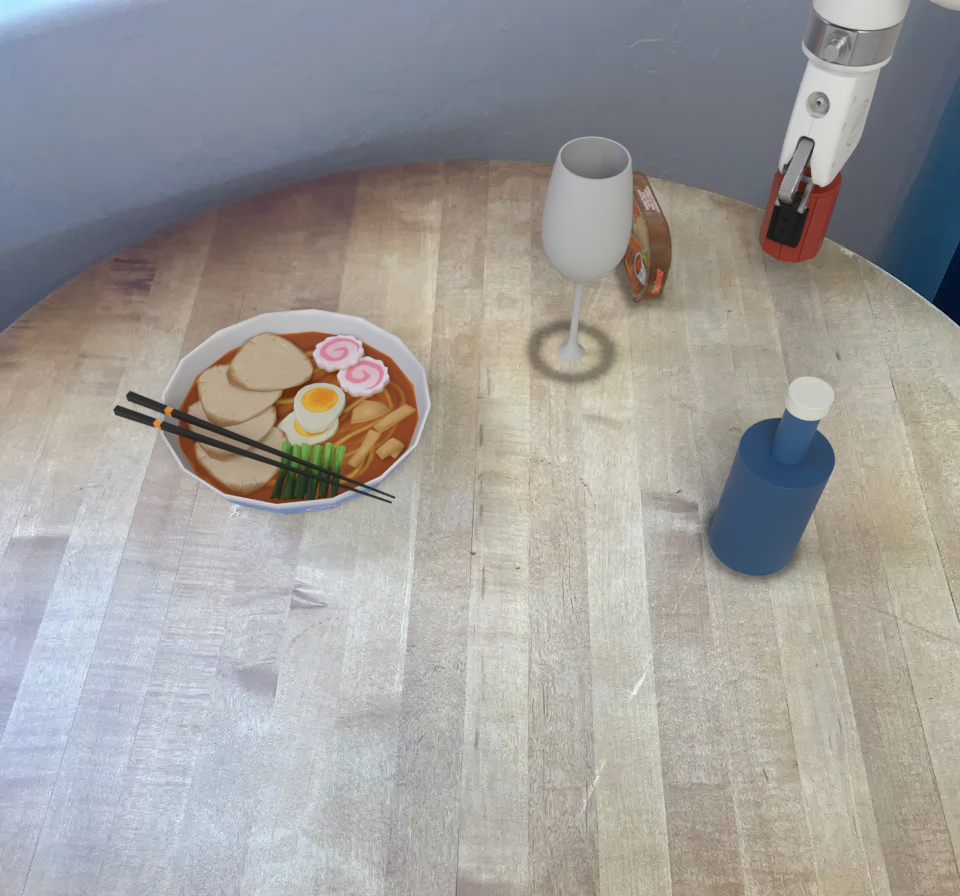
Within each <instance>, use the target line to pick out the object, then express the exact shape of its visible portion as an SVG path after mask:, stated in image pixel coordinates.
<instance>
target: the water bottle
mask: <svg viewBox="0 0 960 896" xmlns="http://www.w3.org/2000/svg"><path fill="white" fill-rule="evenodd" d="M834 400H835V391H834V389H833V387H832V386H831V384H829V383H828V382H826V381H825V380H824V379H821V378H819V377H816V376H811V375H810V376H809V375H808V376H806V375H805V376H800V377H797V378H795V379H793V380H792V381H791V382H790V384H789V386H788V389H787V391H786V394H785V396H784V406H785V409H784V411H783V413H782V416H781V417H772V418H766V419H762V420H760V421H757V422H756V423H754V424H752V425H750V426H749V427H748V428H747V429H746V430H745V431H744V433H743V434H742V436H741V437H740V440H739V443H738V446H737V449H736V451H735V455H734V458H733V461H732V464H731V466H730V470H729V473H728V475H727V478H726V480H725V484H724V487H723V490H722V493H721V496H720V499H719V502H718V505H717V508H716V511H715V514H714V516H713V519H712V522H711V525H710V528H709V533H708V541H709V546H710V548H711V550H712V553H713V554H714V555H715V557H716V558H717V559H718V560H719V561H720V562H721V563H722V564H723V565H725V566H726V567H727V568H729V569H731V570H733V571H735V572H737V573H740V574H743V575H748V576H755V577H756V576H757V577H758V576H759V577H760V576H768V575H771V574H774V573H777V572H779V571H781V570H782V569H784V568H785V567H786V566H787V565H788V564H789V563H790V561H791V560H792V557H793V556H794V553H795V551H796V550H797V547H798V545H799V543H800V541H801V539H802V536H803V534H804V532H805V530H806V528H807V526H808V524H809V522H810V520H811V517H812V516H813V514H814V511H815V509H816V507H817V505H818V502H819V500H820V499H821V497H822V495H823V492H824V490H825V488H826V486H827V484H828V482H829V480H830V478H831V475H832V473H833V471H834V468H835V465H836V456H835V455H836V454H835V451H834V449H833V446H832V444H831V442H830V441H829V440H828V438H827V437H826V436H825V435H824V434H823V433H822V432H821V431H819V429H818V427H819V424H820V422H821V420H822V419H823V418H825V417H826V416H827V415H828V414H829V412H830V410H831V408H832V406H833V403H834Z"/></svg>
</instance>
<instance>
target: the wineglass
mask: <svg viewBox="0 0 960 896" xmlns="http://www.w3.org/2000/svg"><path fill="white" fill-rule="evenodd" d="M555 158H556V159H555V162H554V165H553V168H552V172H551V175H550V179H549V183H548V188H547V192H546V196H545V201H544V206H543V211H542V218H541V231H540V232H541V233H540V235H541V245H542V249H543V252H544V255H545V257H546V260H547V261H548V262H549V264H550V265H551V266H552V267H553V269H554V270H555V271H556V272H557V273H558V274H559V275H560V276H562V277H563V278H565V279H567V280H568V281H570V282H572V283H573V289H574V290H573V291H574V293H573V303H572V309H571V311H572V312H571V319H570V328H569V336H568V340H567V341H566V342H563V343H561V344H560V345H559V346H558V347H557V350H556V352H557V353H556V354H557V355H558V357H559V358H561V359H562V360H563V361H565V362H569V363H574V362H580V361H581V360H582V359H584V357H585V356H586V349H585V347H584V346H583V344H580V343H578V333H579V323H580V317H581V316H580V315H581V308H582V300H583V292H584V288H585V286H586V285H587V284H590V283H593V282H595V281H597V280H598V281H599V280H600V279H602V278H603V277H605V276H607V275H608V274H609V273H611V272H612V271H613V270H615V269H616V268H617V267H618V266H619V264H620V262H621V259H622V258H623V256H624V255H625V252H626V250H627V247H628V243H629V240H630V235H631V229H632V211H633V174H632V171H633V161H632V156H631V154H630V152H629V150H628V149H627V148H626V147H625V146H624V145H622V144H621V143H620V142H618V141H615V140H613V139H611V138H607V137H603V136H583V137H577V138H574V139H571V140H569V141H568V142H566V143H564V145H562V146H561V147H560V149H559V151H558V153H557V155H556V157H555Z"/></svg>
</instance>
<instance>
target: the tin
mask: <svg viewBox="0 0 960 896" xmlns="http://www.w3.org/2000/svg"><path fill="white" fill-rule="evenodd" d="M632 174H633V211H632V229H631V235H630V240H629V243H628V247H627V250H626V252H625V255H624V256H623V258H622V259H621V261H620V262H621V265H622V268H623V270H624V272H625V274H626V275H625V276H626V278H627V280H628V282H629V285H630V287H631V291H632V293H633V294H632V297H631V301H632V302H637V301H644V300H646V301H647V300H655V299H658V298H659V297H660V296H662V295H663V293H664V289H665V286H666V283H667V279H668V275H669V271H670V268H671V265H672V264H671V263H672V256H673V255H672V252H673V251H672V250H673V248H672V246H673V244H672V236H671V231H670V227H669V223H668V221H667V219H666V216H665V215H664V212H663V210H662V208H661V206H660V205H661V204H660V203H659V201H658V199H657V196H656V195H655V192H654V190H653V188H652V186H651V184H650V181H649V179H648V177H647V176H646V175H645V174H644V173H643V172H641V171H636V170H635V171H634V170H632Z"/></svg>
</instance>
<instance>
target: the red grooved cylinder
mask: <svg viewBox="0 0 960 896" xmlns="http://www.w3.org/2000/svg"><path fill="white" fill-rule="evenodd" d="M785 173H786V172H785ZM785 173H784V174H781V173H780V171H779V166H778V167H777V170H776V172H775V173H774V177H773V181H772V184H771V188H770V193H769V195H768V200H767V203H766V206H765V211H764V215H763V219H762V223H761V226H760V230H759V234H758V242H759V245H760V248H761V250H762V252H763V253H765V254H767V255H768V256H770V257H772V258H773V259H775V260H777V261H781V262H788V263H789V262H790V263H802V262H805V261H809V260H812V259H814V258H815V257H816V256H817V254H818V253H819V252H820V250H821V249H822V247H823V244H824V240H825V237H826V234H827V231H828V228H829V226H830V221H831V219H832V215H833V213H834V210H835V206H836V204H837V200H838V197H839V194H840V191H841V188H842V185H843V175H842V172H841V170H840V171H839V172H838V174H837V175H836V177H835V178H834V179H833V181H832V182H831V183H830V184H828V185H827V186H825V187H820V185H817V184H815V186H814V189H813V192H812V194H811V197H810V199H809V202H808V205H807V207H806V208H808V209H809V213H808V216H807V219H806V222H805V226H804V229H803V232H802V236H801V239H800V242H799V244H798V246H797V247H796V248H792V247H789V246H786V245H783V244H780V243H777V242H775V241H772V240H769V239H767V237H766V234H767V230H768V227H769V223H770V219H771V215H772V212H773V208H774V204H775V201H776V198H777V195H778V192H779V189H780V186H781V184H782V182H783V179H784V176H785ZM804 173H806V174H809V175H811V168H809V167H806V169H805V171H804ZM806 185H807V183H804V182H801V181H800V182H799V185H798V192H801V195H802V196H803V193H804V191H805V188H806Z"/></svg>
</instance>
